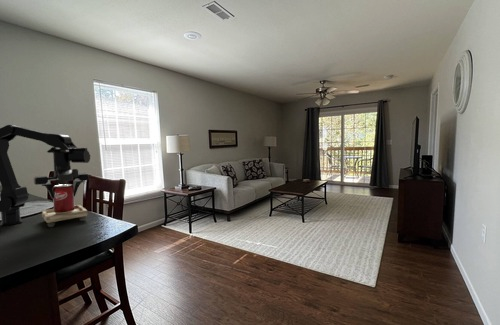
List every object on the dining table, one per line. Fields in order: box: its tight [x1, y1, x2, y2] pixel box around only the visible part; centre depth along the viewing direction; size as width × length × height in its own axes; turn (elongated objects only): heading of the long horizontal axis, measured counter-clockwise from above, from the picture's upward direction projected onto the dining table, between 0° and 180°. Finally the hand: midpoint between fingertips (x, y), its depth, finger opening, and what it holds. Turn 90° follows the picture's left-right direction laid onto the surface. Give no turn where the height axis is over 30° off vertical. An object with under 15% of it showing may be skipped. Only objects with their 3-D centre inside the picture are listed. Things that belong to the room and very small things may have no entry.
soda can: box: [52, 183, 75, 214], centre depth 104 cm, size 7×7×12 cm
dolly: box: [41, 204, 88, 228], centre depth 105 cm, size 14×14×5 cm
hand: (63, 197), depth 104 cm, fingers closed on soda can, 7 cm apart
